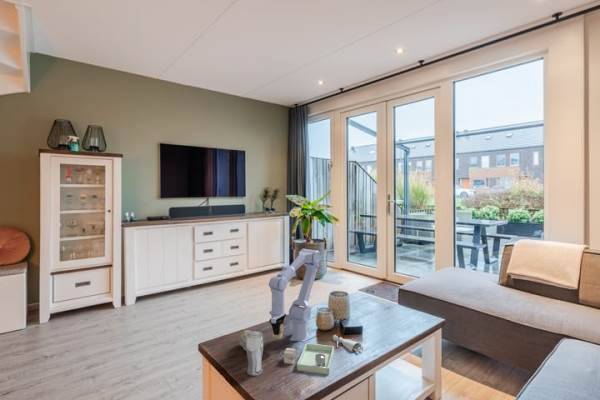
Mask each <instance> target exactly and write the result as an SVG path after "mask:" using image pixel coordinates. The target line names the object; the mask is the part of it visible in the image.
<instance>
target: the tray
mask: <svg viewBox="0 0 600 400" xmlns="http://www.w3.org/2000/svg"><path fill="white" fill-rule="evenodd" d="M317 354H324V355H325V367H321V366H315V356H316V355H317ZM334 355H335V346H334V345H325V344H319V343H312V342H311V343H309V342H305V345H304V347H303V349H302V351H301V354H300V356H299V358H298V360H297V363H296V371H300V372H306V373H314V374H322V375H328V376H329V375H330V372H331V371H330V370H331V368H332V364H333V359H334Z"/></svg>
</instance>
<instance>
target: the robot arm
mask: <svg viewBox="0 0 600 400" xmlns="http://www.w3.org/2000/svg"><path fill="white" fill-rule="evenodd" d="M297 254H298V255H297V257H296V258H295V260H294V261H292V262H291V264H290V265H285V266H284V267H283V269H282V270H280V272H279V273H278V274H276V275H274V276H272V277H271V278H270V280H269V282H268V287H269V289H270V292H271V310H270V311H269V312H268V314H269V315H270V316H271V317H270V318H269V323H270V325H271V327H272V328H273V333H274V335H279V332H280V325H281V324H283V325H284V321H285V318H286V316H287V314H286V312H285V290H286V289H287V287H288V284H289V282H290V281H291V280H292V278H293V277H295V275H296V271H297V270H298V269H299V268H301V267H302V266H303V265H304V266H305V268H306V269H305V274H304V276H303V279H302V283H301V286H300V290H299V294H298V296H297V299H295V300H294V301H292V304H291V306H290V308H289V309H288V316H289V318H290V319H291V321H292V322H291V323H292V325H291V333H292V335H291V336H290V338H289V341H290V342H291V341H292V342H300V343H307V341H308V338H309V336H310V332H308V330H309V329H308V321H309V320H310V318H311V316H312V315H311V311H312V306H311V305H310V303H309V299H310V297H311V293H312V289H313V286H314V282H315V278H316V274H317V272H318V268H319V266H320V263H321V260H322V255H321V253H320V251H319V250H316V249H315V250H314V249H307V248H302V249H301V250H300V251H298V253H297Z"/></svg>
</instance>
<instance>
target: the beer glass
mask: <svg viewBox="0 0 600 400" xmlns="http://www.w3.org/2000/svg"><path fill="white" fill-rule="evenodd" d="M245 352H246V358H247V363H248V364H247V369H246V372H247V374H248V375H249V376H252V377H253V376H254V377H256V376H260V375H261V374H262V373H263V366H262V358H263V353H264V334H263V333H262V332H261V331H255V330H254V331H253V332H250V333H248V334H247V338H246V351H245Z"/></svg>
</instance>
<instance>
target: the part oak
mask: <svg viewBox="0 0 600 400" xmlns="http://www.w3.org/2000/svg"><path fill="white" fill-rule="evenodd" d="M271 332H272V333H271V339H279V340H280V339H282V337H283V336H284V323H283V324H281V325H280V332H279V335H274V333H273V328H272V329H271Z"/></svg>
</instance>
